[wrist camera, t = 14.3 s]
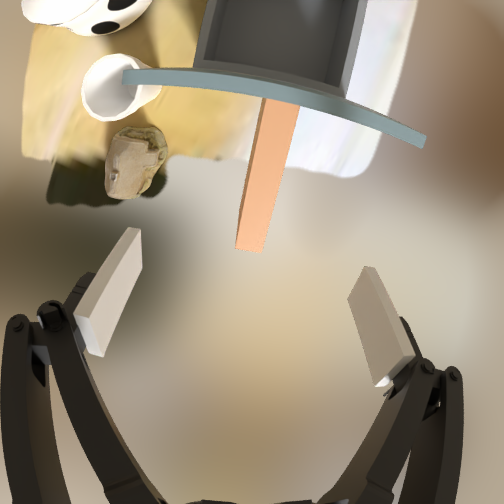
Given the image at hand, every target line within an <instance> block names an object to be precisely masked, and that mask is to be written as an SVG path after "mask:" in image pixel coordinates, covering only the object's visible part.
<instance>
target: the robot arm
mask: <svg viewBox="0 0 504 504" xmlns="http://www.w3.org/2000/svg"><path fill="white" fill-rule="evenodd" d="M141 270H142V253H141V229H137V228H130V227H128V228H127V230H126V231H125V232H124V234H123V235H122V237H121V238H120V240H119V241H118V242H117V244H116V245H115V247H114V248H113V250H112V251H111V253H110V254H109V256H108V257H107V259H106V260H105V262H104V263H103V265H102V266H101V268H100V270H99V271H98V273H97V274H95V273H91V272H87V273H86V274H85V275H83V276H82V277H81V278H80V279H79V280H78V282H77V283H76V286H75V287H74V288H73V290H72V292H71V293H70V294H69V296H68V298H67V299H66V301H65V303H64V304H63V305H62V303H60V302H59V301H55V300H51V301H47V302H45V303H43V304H42V305H41V306H40V307H39V309H38V311H37V318H38V320H39V322H30V321H29V319H28V318H27V316H25V315H23V314H17V315H14V316H13V317H11V318H10V320H9V321H8V323H7V326H6V331H5V339H4V346H3V355H2V366H1V384H0V385H1V386H0V414H1V415H0V416H1V432H2V444H3V452H4V459H5V466H6V471H7V476H8V482H9V486H10V490H11V495H12V499H13V500H12V504H71V501H70V498H69V494H68V491H67V487H66V484H65V480H64V476H63V472H62V468H61V464H60V460H59V455H58V450H57V445H56V439H55V433H54V426H53V419H52V410H51V401H50V386H49V365H52V368H53V372H54V375H55V378H56V382H57V385H58V388H59V391H60V394H61V396H62V400H63V402H64V405H65V408H66V410H67V413H68V416H69V418H70V421H71V423H72V425H73V428H74V430H75V432H76V435H77V437H78V439H79V441H80V443H81V446H82V448H83V450H84V452H85V454H86V456H87V458H88V460H89V462H90V463H91V466H92V467H93V469H94V471H95V472H96V475H97V476H98V478H99V480H100V482H101V483H102V485H103V488H104V493H105V496H106V498H107V499H108V501H109V503H110V504H168V503H167V502H166V501H165V499H164V498H163V497H162V496H161V494H160V493H159V492H158V491H157V489H156V488H155V487H154V485H153V484H152V483H151V482H150V480H149V479H148V478H147V476H146V475H145V473H144V472H143V470H142V469H141V467H140V466H139V464H138V463H137V461H136V459H135V458H134V456H133V455H132V453H131V451H130V450H129V448H128V447H127V445H126V443H125V442H124V440H123V438H122V436H121V434H120V432H119V431H118V429H117V427H116V425H115V423H114V422H113V419H112V417H111V415H110V414H109V412H108V410H107V407H106V406H105V403H104V401H103V399H102V397H101V395H100V393H99V390H98V388H97V386H96V384H95V381H94V379H93V377H92V374H91V372H90V369H89V367H88V365H87V362H86V359H85V356H84V354H83V352H84V349H85V347H87V350H88V352H89V353H90V354H94V355H97V356H100V357H104V354H105V351H106V349H107V346H108V344H109V341H110V339H111V336H112V334H113V332H114V329H115V327H116V324H117V322H118V320H119V317H120V315H121V313H122V311H123V308H124V306H125V304H126V302H127V299H128V297H129V295H130V293H131V291H132V289H133V286H134V284H135V282H136V280H137V278H138V276H139V274H140V272H141ZM348 302H349V305H350V308H351V311H352V314H353V317H354V320H355V323H356V326H357V329H358V333H359V335H360V339H361V342H362V345H363V349H364V352H365V355H366V359H367V362H368V365H369V369H370V372H371V376H372V380H373V383H374V387H378V386H386V385H387V384H388V383H389V382H390V381H391V380H393V383H394V385H393V386H392V387H391V388H390V389H389V390H388V391H387V392H386V393H385V394H384V395H383V396H386V394H388V395H387V397H386V399H385V401H384V403H383V405H382V407H381V409H380V411H379V413H378V415H377V417H376V419H375V421H374V423H373V425H372V427H371V429H370V430H369V432H368V434H367V436H366V437H365V439H364V441H363V442H362V444H361V446H360V447H359V449H358V451H357V453H356V454H355V456H354V457H353V459H352V460H351V462H350V464H349V465H348V467H347V468H346V470H345V471H344V473H343V474H342V475H341V477H340V478H339V480H338V481H337V483H336V484H335V485H334V487H333V488H332V489H331V490H330V491H328V492H327V493H326V494H325V495H323V496H322V498H321V499H320V500H319V501H318V502H317V503H312V500H303V501H292V502H283V503H276V504H392V502H393V499H394V494H393V493H392V488H393V486H394V484H395V482H396V480H397V478H398V476H399V474H400V472H401V470H402V468H403V466H404V464H405V461H406V459H407V457H408V455H409V452H410V450H411V452H410V457H409V462H408V467H407V471H406V476H405V480H404V484H403V488H402V491H401V495H400V498H399V502H398V504H455V499H456V494H457V489H458V482H459V476H460V468H461V459H462V447H463V426H464V425H463V424H464V409H463V408H464V403H463V381H462V375H461V373H460V371H459V370H458V369H457V368H456V367H454V366H450V367H448V368H447V369H446V370H445V371H442V370H438V369H435V366H434V365H433V363H432V362H431V361H430V360H428V359H426V358H423V357H422V354H421V352H420V350H419V347H418V345H417V343H416V340H415V338H414V336H413V334H412V332H411V329H410V327H409V325H408V323H407V322H406V321H405V320H404V318H403V317H399V316H398V314H397V311H396V309H395V307H394V305H393V303H392V301H391V299H390V297H389V295H388V293H387V291H386V289H385V287H384V285H383V283H382V281H381V279H380V277H379V275H378V273H377V271H376V269H375V268H373V267H367V266H364V268H363V270H362V272H361V274H360V276H359V278H358V280H357V282H356V284H355V286H354V288H353V289H352V291H351V293H350V295H349V297H348ZM439 402H440V407H439ZM187 504H236V503H232V502H222V501H211V500H201V501H198V502H191V503H187Z"/></svg>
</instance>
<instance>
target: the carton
mask: <svg viewBox="0 0 504 504" xmlns="http://www.w3.org/2000/svg"><path fill="white" fill-rule="evenodd" d="M367 1H368V0H208V1H207V5H206V9H205V13H204V17H203V21H202V25H201V30H200V34H199V39H198V43H197V48H196V53H195V58H194V63H193V68H200V69H210V70H219V71H227V72H234V73H241V74H247V75H253V76H258V77H264V78H269V79H273V80H278V81H283V82H287V83H291V84H295V85H299V86H303V87H307V88H311V89H314V90H318V91H321V92H325V93H328V94H331V95H335V96H338V97H341V98H346V94H347V90H348V86H349V82H350V78H351V74H352V70H353V66H354V62H355V58H356V53H357V49H358V45H359V40H360V36H361V31H362V26H363V21H364V17H365V12H366V7H367Z"/></svg>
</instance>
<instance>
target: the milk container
mask: <svg viewBox="0 0 504 504" xmlns="http://www.w3.org/2000/svg"><path fill="white" fill-rule="evenodd" d="M151 2H152V0H22V3H21V5H22V10H23V15H24V16H25V17H26V18H27V19H28V20H29V21H31V22H33V23H37V24H44V25H50V26H55V27H66V28H67V29H69V30H70V31H72V32H73V33H76V34H79V35H83V36H101V35H106V34H110V33H114V32H116V31H119V30H121V29H123V28H124V27H126V26H128V25H129V24H131V23H132V22H133V21H135V20H136V19H137V18H138V17H139V16H141V14H142V13H143V12H144V11H145V10H146V9H147V7H148V6H149V5H150V4H151Z"/></svg>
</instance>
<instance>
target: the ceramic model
mask: <svg viewBox="0 0 504 504" xmlns="http://www.w3.org/2000/svg"><path fill="white" fill-rule="evenodd" d="M167 150H168V149H167V145H166V142H165V140H164V136H163V134H162V132H161V131H160V130H159V129H157V128H156V127H149V128H136V127H125V128H123V129H122V130H121V131H119V132H118V133H117V134H115V136H114V137H113V139H112V143H111V147H110V150H109V153H108V155H107V158H106V164H105V173H106V176H105V189H106V192H107V194H108V196H110V197H112V198H116V199H130V198H131V199H134V198H136V197H139V196H140V194H141V193H142V192H144V191H145V190H147V189H148V188H149V186H150V184H151V182H152V178H153V176H154V174H155V173H156V171H157V170H158V168H159V167H160V166H161V164H162V163H163V162H164V160H165V158H166V155H167V153H168V151H167Z"/></svg>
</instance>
